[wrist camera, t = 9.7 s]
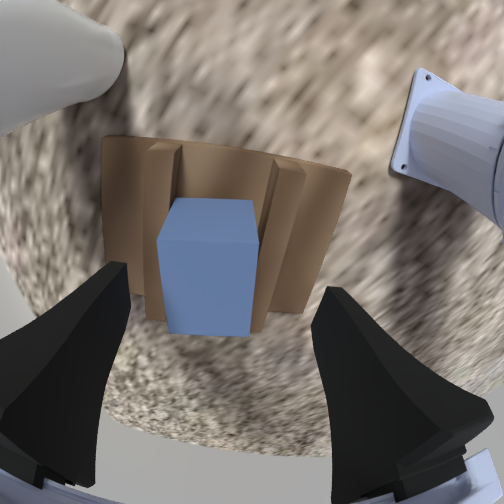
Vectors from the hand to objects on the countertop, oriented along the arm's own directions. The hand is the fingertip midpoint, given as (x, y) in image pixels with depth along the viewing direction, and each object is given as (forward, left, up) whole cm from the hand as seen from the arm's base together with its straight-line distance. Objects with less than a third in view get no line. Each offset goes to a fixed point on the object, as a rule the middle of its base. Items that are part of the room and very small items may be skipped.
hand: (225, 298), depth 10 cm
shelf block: (+1, +3, -8) cm, 9 cm away
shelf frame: (+1, +3, -10) cm, 11 cm away
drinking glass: (+10, -8, -11) cm, 17 cm away
